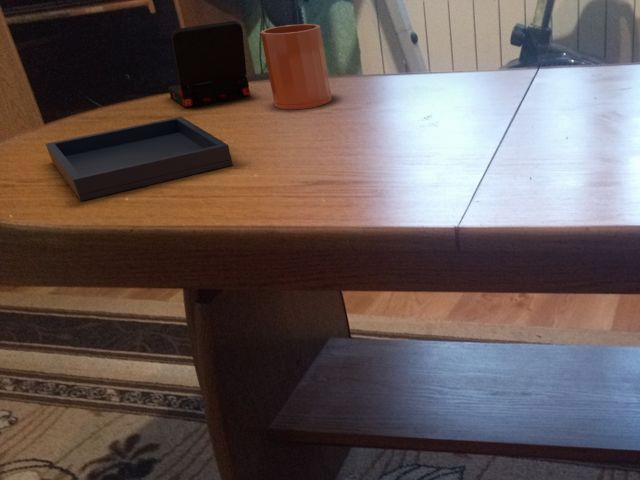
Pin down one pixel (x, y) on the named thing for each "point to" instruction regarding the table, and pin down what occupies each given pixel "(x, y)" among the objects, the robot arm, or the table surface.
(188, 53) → the handheld gaming console
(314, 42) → the terracotta cup
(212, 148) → the dark tray
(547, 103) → the table surface
